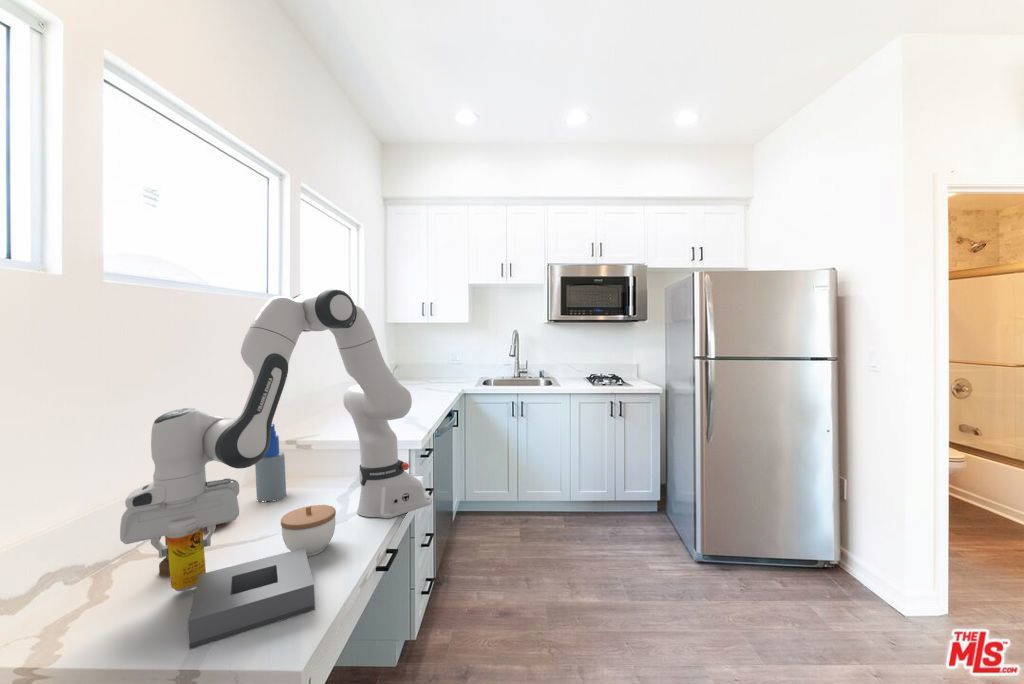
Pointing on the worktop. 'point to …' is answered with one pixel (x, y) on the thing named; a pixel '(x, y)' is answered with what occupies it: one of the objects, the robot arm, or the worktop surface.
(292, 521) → the lidded bowl
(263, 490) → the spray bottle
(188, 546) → the beer can
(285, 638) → the worktop surface
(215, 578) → the can dock
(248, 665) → the worktop surface
